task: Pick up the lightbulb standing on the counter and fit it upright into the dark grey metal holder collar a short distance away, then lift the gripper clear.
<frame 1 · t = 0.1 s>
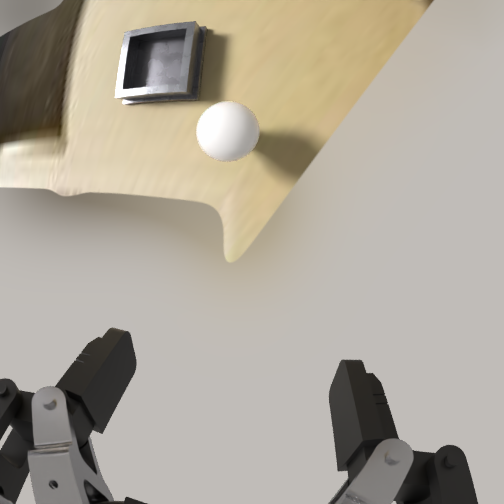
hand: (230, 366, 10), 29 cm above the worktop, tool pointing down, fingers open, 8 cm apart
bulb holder: (164, 65, 30), on the worktop
lightbulb: (238, 134, 34), on the worktop
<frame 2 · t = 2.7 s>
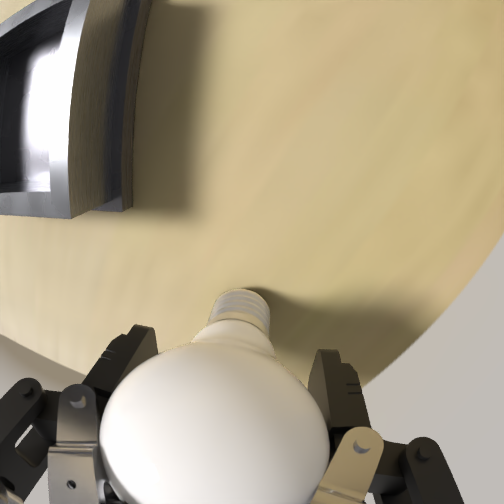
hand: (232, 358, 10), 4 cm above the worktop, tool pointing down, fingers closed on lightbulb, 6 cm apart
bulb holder: (52, 105, 10), on the worktop
lightbulb: (243, 303, 14), on the worktop, touching gripper
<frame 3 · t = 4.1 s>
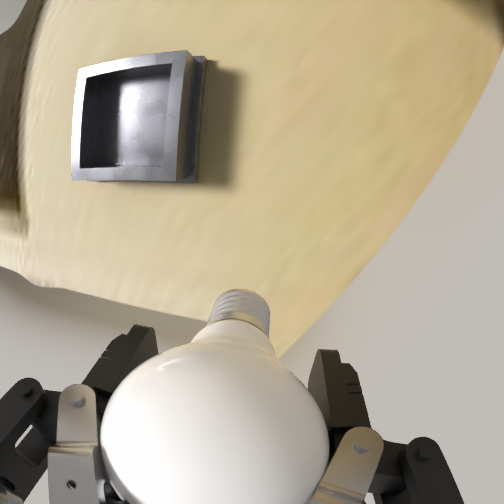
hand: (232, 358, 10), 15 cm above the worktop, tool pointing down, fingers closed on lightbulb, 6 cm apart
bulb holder: (142, 120, 21), on the worktop
lightbulb: (243, 303, 14), point 11 cm above the worktop, touching gripper
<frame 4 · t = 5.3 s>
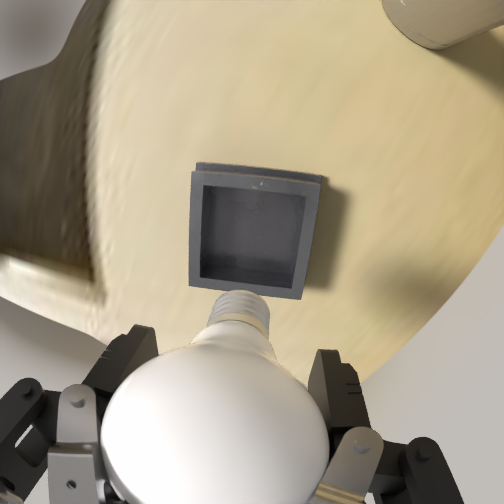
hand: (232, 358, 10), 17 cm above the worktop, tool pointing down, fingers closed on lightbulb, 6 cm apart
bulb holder: (253, 225, 26), on the worktop
lightbulb: (242, 304, 14), point 14 cm above the worktop, touching gripper
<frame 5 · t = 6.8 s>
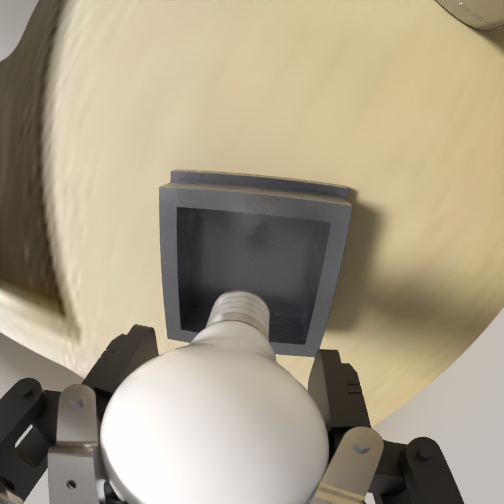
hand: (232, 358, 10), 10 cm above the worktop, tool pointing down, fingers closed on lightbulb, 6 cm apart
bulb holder: (252, 255, 19), on the worktop
lightbulb: (242, 304, 14), point 6 cm above the worktop, touching gripper
when the fingers open (6 cm above the worktop, at t = 8.1 s): lightbulb drops 1 cm, resting on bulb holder.
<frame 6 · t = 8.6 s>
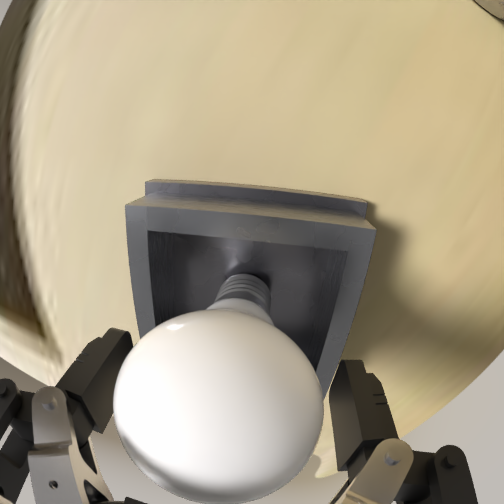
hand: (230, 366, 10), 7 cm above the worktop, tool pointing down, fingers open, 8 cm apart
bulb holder: (247, 283, 16), on the worktop
lightbulb: (246, 289, 15), point 1 cm above the worktop, touching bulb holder
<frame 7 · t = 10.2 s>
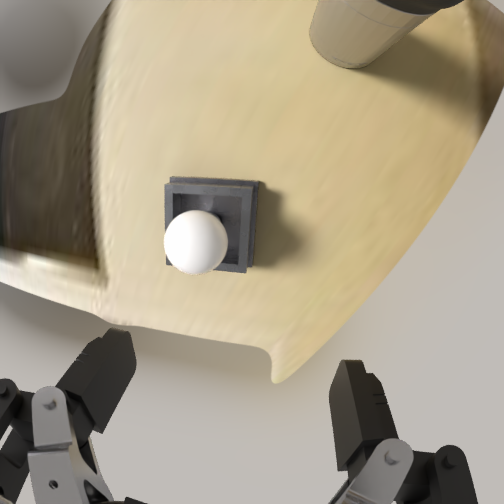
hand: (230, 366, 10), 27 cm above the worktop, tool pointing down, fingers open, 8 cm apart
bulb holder: (212, 220, 36), on the worktop
lightbulb: (211, 221, 35), point 1 cm above the worktop, touching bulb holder
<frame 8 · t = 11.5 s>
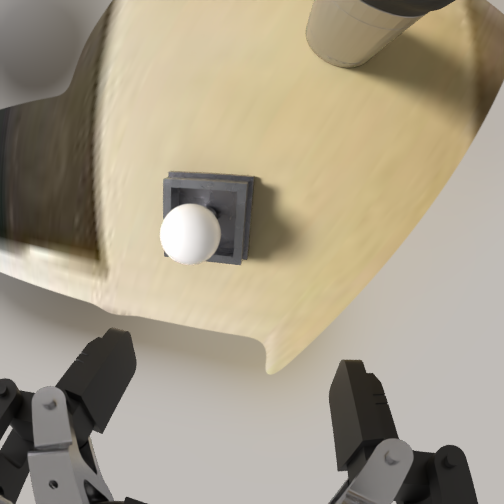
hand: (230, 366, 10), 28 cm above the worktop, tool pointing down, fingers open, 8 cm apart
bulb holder: (209, 214, 37), on the worktop
lightbulb: (208, 215, 36), point 1 cm above the worktop, touching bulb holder
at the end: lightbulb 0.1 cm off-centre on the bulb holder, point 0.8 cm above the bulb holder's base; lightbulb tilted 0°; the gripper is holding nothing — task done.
